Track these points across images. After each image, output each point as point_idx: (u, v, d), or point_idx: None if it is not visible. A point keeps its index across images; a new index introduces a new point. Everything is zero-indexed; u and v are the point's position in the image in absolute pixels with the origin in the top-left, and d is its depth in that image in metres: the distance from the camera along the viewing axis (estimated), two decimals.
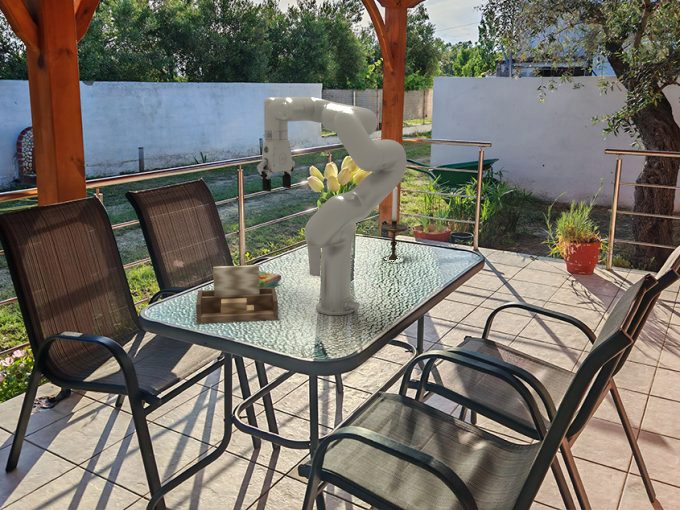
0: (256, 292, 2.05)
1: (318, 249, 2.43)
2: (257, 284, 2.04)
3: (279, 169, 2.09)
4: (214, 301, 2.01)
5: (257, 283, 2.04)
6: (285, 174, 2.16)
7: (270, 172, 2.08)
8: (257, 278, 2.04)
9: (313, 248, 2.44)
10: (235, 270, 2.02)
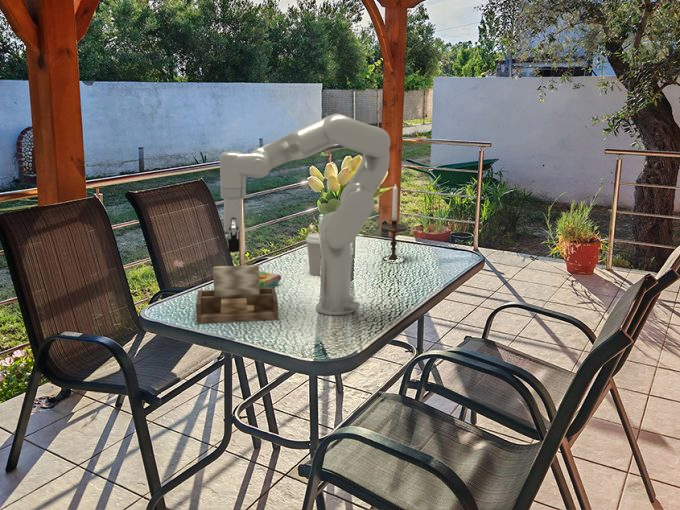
0: (256, 292, 2.05)
1: (318, 249, 2.43)
2: (257, 284, 2.04)
3: None
4: (214, 301, 2.01)
5: (257, 283, 2.04)
6: None
7: None
8: (257, 278, 2.04)
9: (313, 248, 2.44)
10: (235, 270, 2.02)
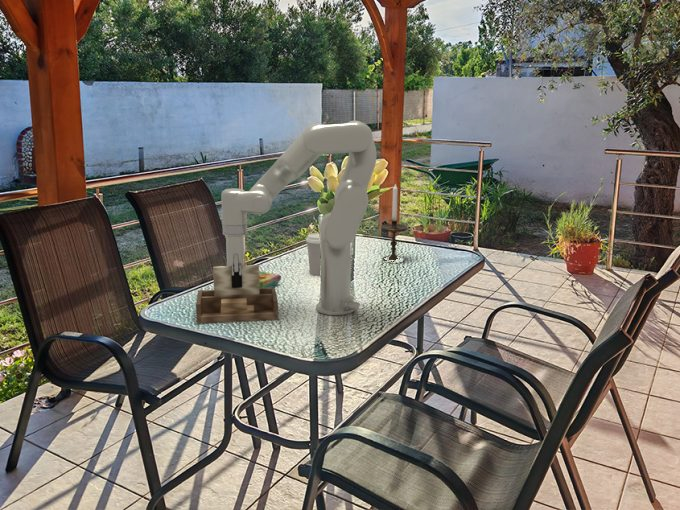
0: (256, 292, 2.05)
1: (318, 249, 2.43)
2: (257, 284, 2.04)
3: None
4: (214, 301, 2.01)
5: (257, 283, 2.04)
6: None
7: None
8: (257, 278, 2.04)
9: (313, 248, 2.44)
10: None
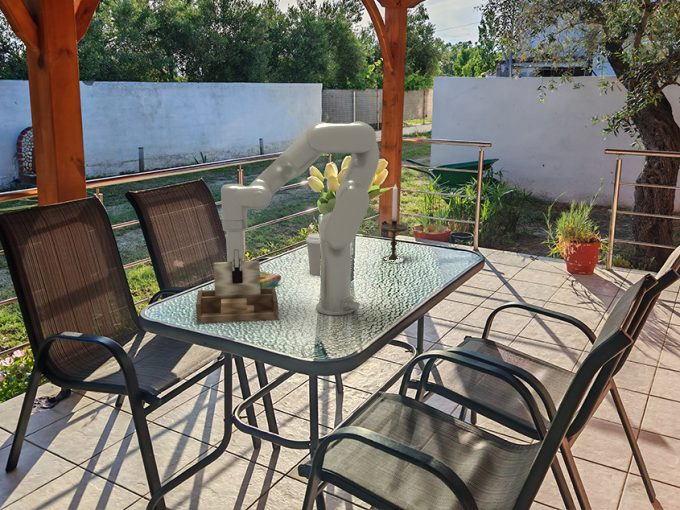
0: (257, 288, 2.04)
1: (318, 249, 2.43)
2: (258, 280, 2.04)
3: None
4: (214, 301, 2.01)
5: (258, 279, 2.04)
6: None
7: (232, 260, 2.04)
8: (258, 274, 2.03)
9: (313, 248, 2.44)
10: None
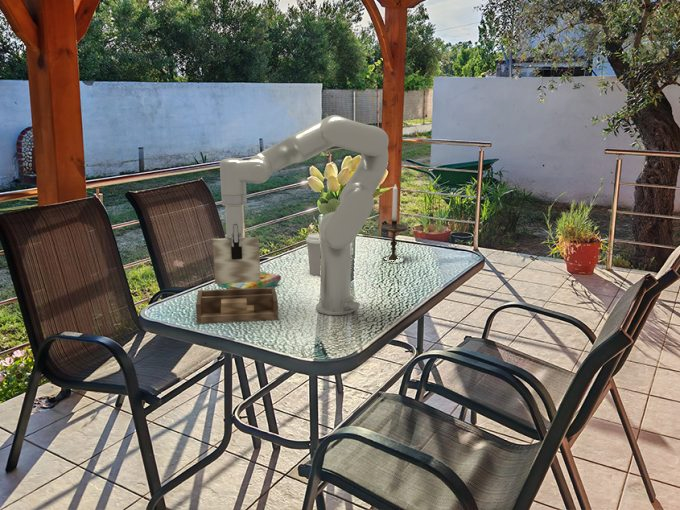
0: (256, 264, 2.02)
1: (318, 249, 2.43)
2: (258, 256, 2.02)
3: None
4: (214, 301, 2.01)
5: (257, 255, 2.02)
6: None
7: None
8: (257, 250, 2.01)
9: (313, 248, 2.44)
10: None
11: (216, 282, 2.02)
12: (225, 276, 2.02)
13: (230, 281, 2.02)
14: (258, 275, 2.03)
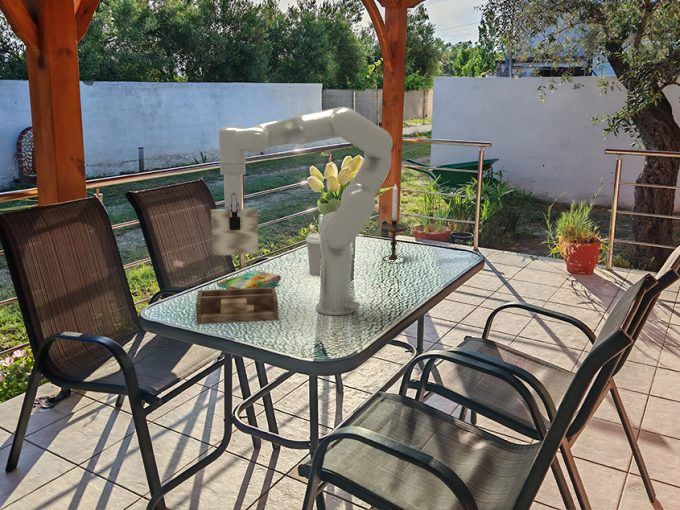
0: (255, 236, 2.00)
1: (318, 249, 2.43)
2: (256, 228, 2.00)
3: None
4: (214, 301, 2.01)
5: (256, 227, 2.00)
6: None
7: None
8: (256, 222, 1.99)
9: (313, 248, 2.44)
10: None
11: (214, 254, 1.99)
12: (222, 248, 1.99)
13: (228, 253, 2.00)
14: (256, 248, 2.01)
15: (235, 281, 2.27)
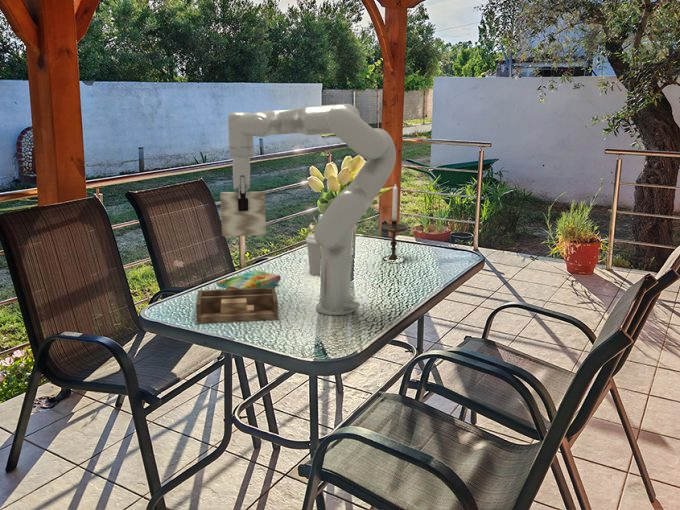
0: (262, 218, 2.09)
1: (318, 249, 2.43)
2: (263, 210, 2.08)
3: None
4: (214, 301, 2.01)
5: (263, 209, 2.08)
6: None
7: (238, 189, 2.08)
8: (263, 204, 2.08)
9: (313, 248, 2.44)
10: None
11: (223, 235, 2.08)
12: (231, 229, 2.08)
13: (236, 234, 2.09)
14: (263, 229, 2.10)
15: (234, 281, 2.27)
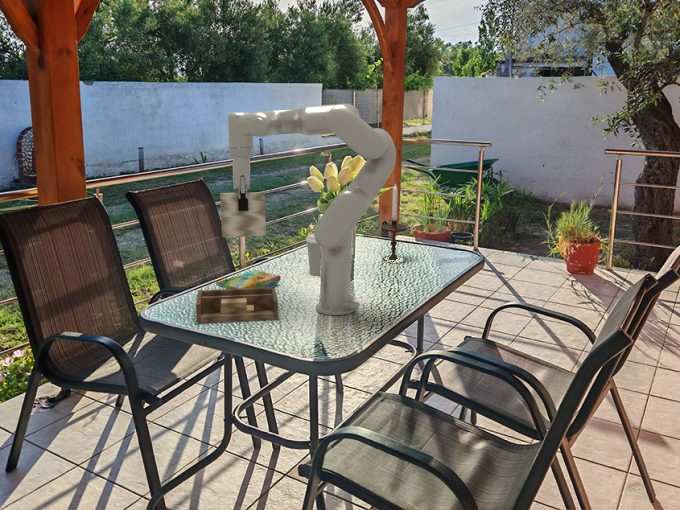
0: (262, 219, 2.09)
1: (318, 249, 2.43)
2: (264, 211, 2.08)
3: None
4: (214, 301, 2.01)
5: (263, 209, 2.08)
6: None
7: (238, 189, 2.08)
8: (263, 205, 2.08)
9: (313, 248, 2.44)
10: None
11: (223, 235, 2.08)
12: (231, 230, 2.08)
13: (237, 235, 2.09)
14: (263, 230, 2.10)
15: (234, 280, 2.27)
